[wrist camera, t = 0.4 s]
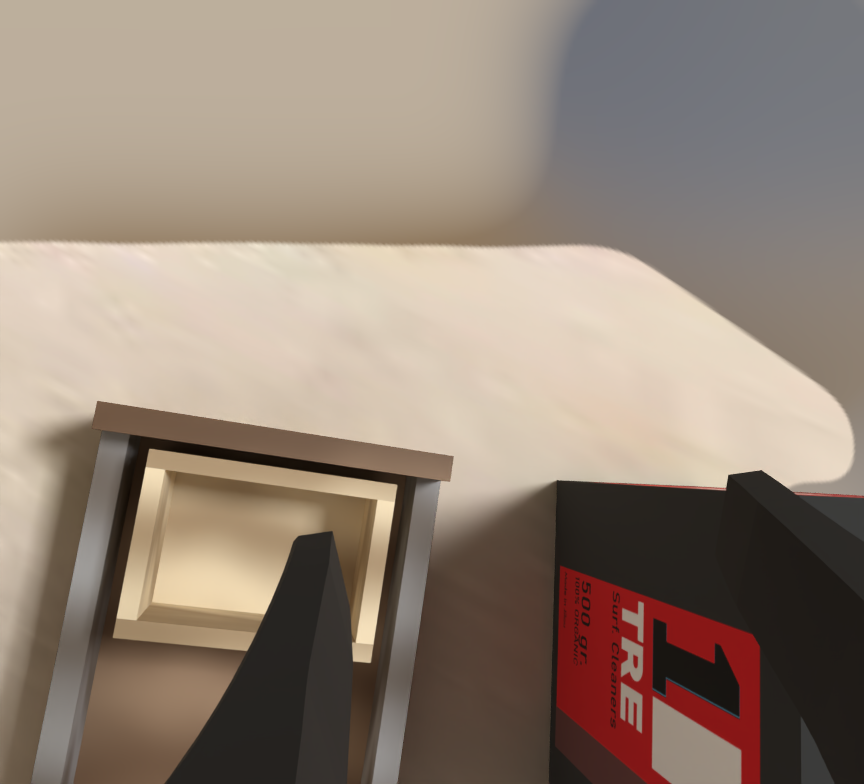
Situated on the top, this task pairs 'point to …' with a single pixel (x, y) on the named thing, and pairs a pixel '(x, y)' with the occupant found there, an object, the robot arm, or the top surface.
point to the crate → (243, 547)
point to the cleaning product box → (665, 647)
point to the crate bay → (205, 666)
